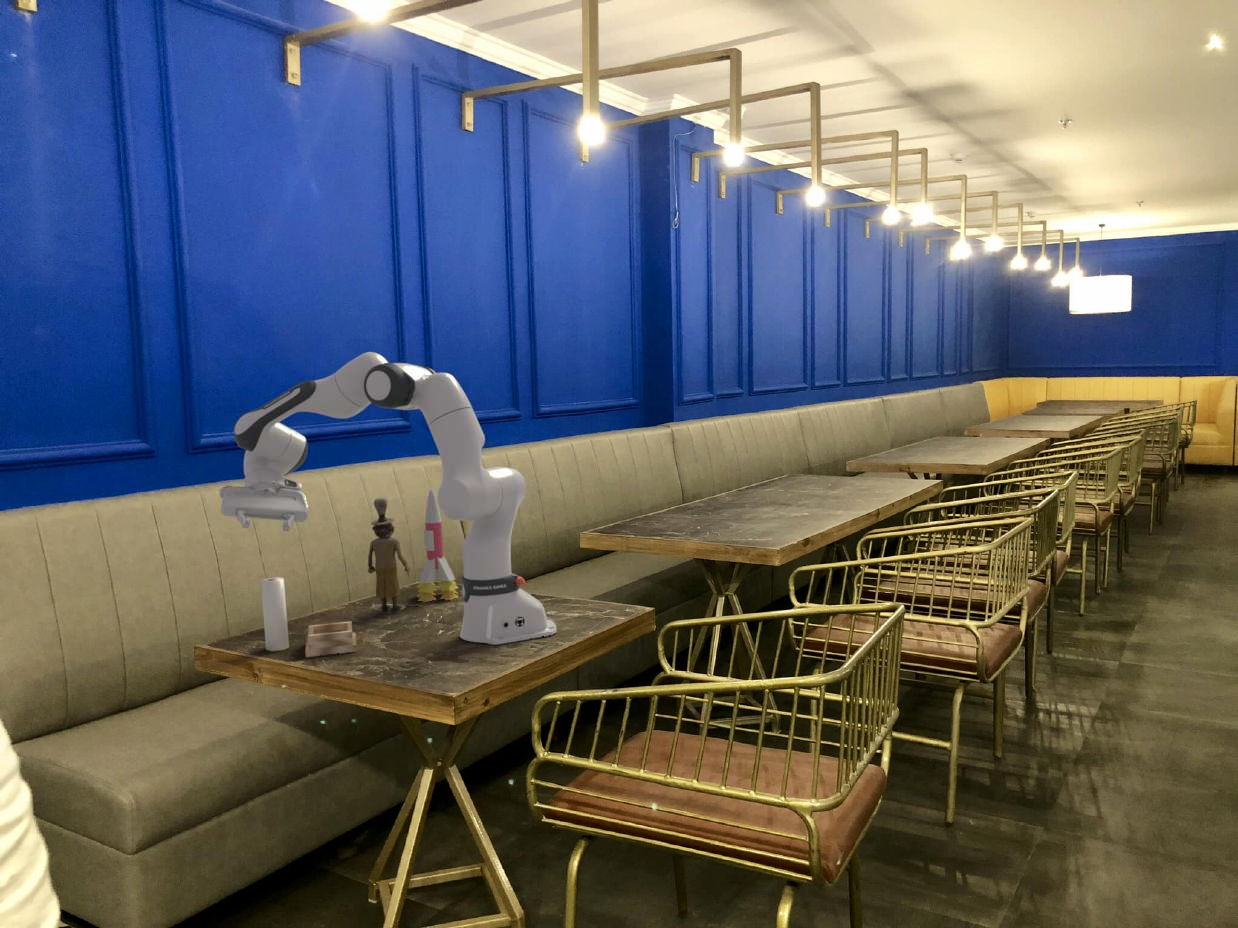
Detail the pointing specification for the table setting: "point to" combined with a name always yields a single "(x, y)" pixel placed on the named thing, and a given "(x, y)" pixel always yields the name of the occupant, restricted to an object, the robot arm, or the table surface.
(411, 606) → the table surface
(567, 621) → the table surface
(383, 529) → the figurine
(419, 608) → the table surface
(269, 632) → the roll
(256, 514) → the robot arm
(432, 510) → the toy rocket
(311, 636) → the holder
